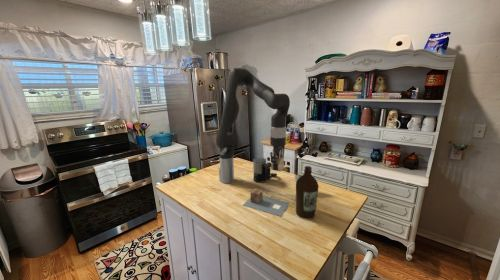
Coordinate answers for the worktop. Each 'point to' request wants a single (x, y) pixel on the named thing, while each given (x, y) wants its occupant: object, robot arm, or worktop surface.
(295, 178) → the food container
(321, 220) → the worktop surface
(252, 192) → the walnut block
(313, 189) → the olive oil
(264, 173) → the milk frother
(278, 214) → the mat
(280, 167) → the maple block
